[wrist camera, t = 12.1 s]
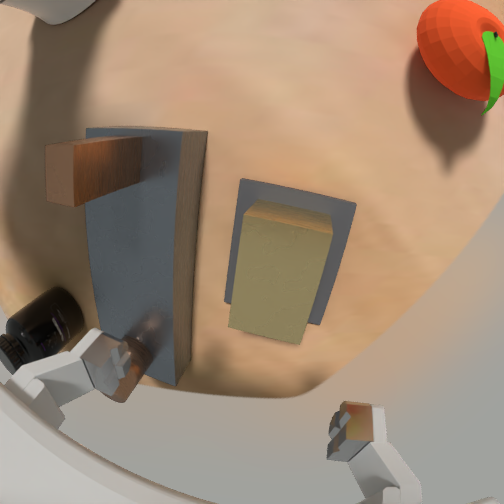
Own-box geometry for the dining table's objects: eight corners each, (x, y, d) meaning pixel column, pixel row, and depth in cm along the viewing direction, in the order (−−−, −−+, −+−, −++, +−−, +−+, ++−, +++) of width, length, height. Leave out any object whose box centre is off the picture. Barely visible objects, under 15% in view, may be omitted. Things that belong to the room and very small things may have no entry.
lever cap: (258, 198, 19) (243, 214, 16) (330, 214, 19) (333, 234, 15) (242, 297, 23) (228, 326, 19) (304, 311, 22) (299, 344, 18)
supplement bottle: (91, 316, 30) (28, 379, 19) (77, 337, 33) (24, 392, 22) (56, 274, 29) (-14, 326, 18) (45, 300, 32) (-12, 347, 21)
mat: (242, 178, 20) (240, 179, 19) (355, 203, 19) (356, 205, 18) (226, 297, 24) (224, 301, 23) (319, 320, 23) (319, 324, 22)
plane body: (119, 125, 20) (20, 137, 11) (207, 131, 19) (118, 135, 10) (126, 335, 29) (76, 395, 20) (190, 359, 28) (148, 433, 19)
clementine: (487, 127, 14) (546, 132, 7) (408, 109, 15) (453, 98, 9) (478, 32, 11) (525, 7, 4) (398, 9, 12) (427, -36, 6)
